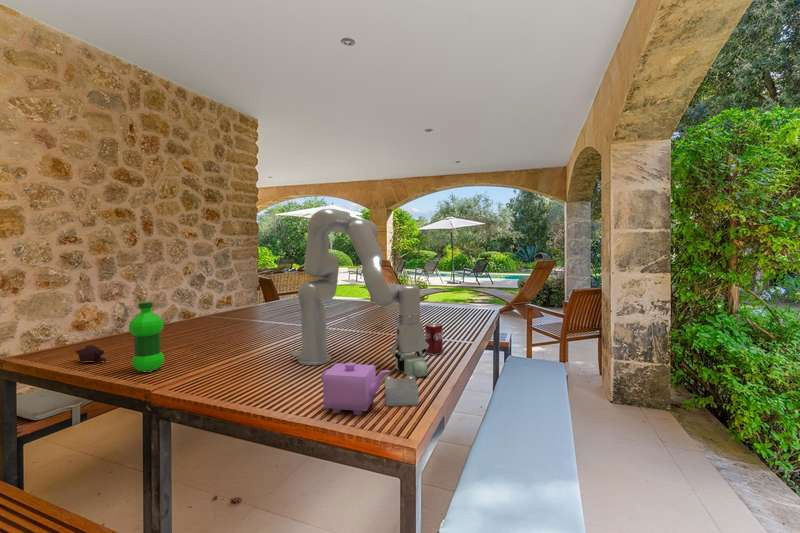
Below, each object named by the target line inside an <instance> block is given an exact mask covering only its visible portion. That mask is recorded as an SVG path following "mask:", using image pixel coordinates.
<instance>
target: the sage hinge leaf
mask: <svg viewBox="0 0 800 533" xmlns="http://www.w3.org/2000/svg"><path fill="white" fill-rule="evenodd" d="M394 358H395V363H394V364H395V369H396V370H398V371H400V370H399V369H398V359H397V358H396V357H395V356H394ZM403 360H404V372H402V371H400V372H401V373H403V374H405V375H406V376H407V375H414V376H415V378H416V377H417V378H421V377H425V376H426V377H427V375H428V370H429V369H428V365H427V363H426V358H424V357H420V356H418V355H417V354H415V353H414V352H411V353H405V355H404V357H403Z"/></svg>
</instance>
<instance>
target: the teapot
mask: <svg viewBox="0 0 800 533" xmlns="http://www.w3.org/2000/svg"><path fill="white" fill-rule="evenodd" d="M390 372H391V370H390V369H388V370H387V369H385V370H384V369H383V370H381V371H379V373H378V374H377V376H376V364H358V363H356V362H354V361H353V362H351V361H350V362H346V363H337V362H336V363H335V364H333V365H332V367H330V368H327V369H325V370H324V371H323V372H322V373H321V376H320V378H321V382H322V388H323V389H322V390H323V393H322V394H323V395H322V396H323V409H328V410H329V409H331V410H332V411H331V413H333V414H340V413H341V412H342V411H343V410H344V411H352V413H353V414H352V415H354V416H360V415H362V414H363V412H367V411H368V409H369V408H370V407H371V404H373V401H374V400H375V398H376V397H377V392H379V390H380V388H381V385H382V382H383V378H384V377H385V376H386V375H387V374H389V373H390Z"/></svg>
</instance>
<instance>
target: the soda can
mask: <svg viewBox="0 0 800 533" xmlns="http://www.w3.org/2000/svg"><path fill="white" fill-rule="evenodd" d="M443 329H444V327H443V324H442V323H439V322H429V323H426V324H425V325H424V336H425V341H426V342H427V343H428V344H429V347H428V348H427V349H426V352H425V354H426V353H427V355H429V354H430V355H429V356H439V355H438V354H440V355H441V353H442V354H443V352H444V351H443V349H444V348H443V347H444V345H443V344H444V343H443V341H444V340H443V339H444V338H443V334H444V333H443V332H444V331H443Z"/></svg>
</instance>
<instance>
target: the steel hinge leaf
mask: <svg viewBox="0 0 800 533" xmlns="http://www.w3.org/2000/svg"><path fill="white" fill-rule="evenodd" d="M384 393H385V406H386V407H402V406H403V407H405V406H406V407H409V406H419V387H418V383H417V380H416V376H415V375H406V377H405V378H404V377H403V378H393V375H384Z"/></svg>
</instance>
